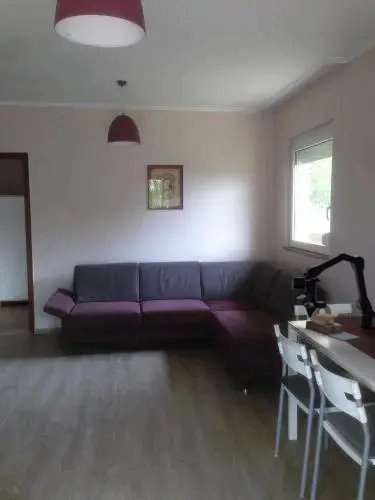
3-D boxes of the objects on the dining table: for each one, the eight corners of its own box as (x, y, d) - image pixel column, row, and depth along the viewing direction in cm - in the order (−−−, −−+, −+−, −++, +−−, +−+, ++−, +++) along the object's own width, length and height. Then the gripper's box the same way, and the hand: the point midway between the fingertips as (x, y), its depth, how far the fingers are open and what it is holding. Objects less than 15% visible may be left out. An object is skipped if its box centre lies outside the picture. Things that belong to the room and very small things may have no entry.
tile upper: (322, 316, 245) (322, 312, 245) (333, 319, 238) (334, 316, 238) (311, 317, 241) (311, 314, 241) (322, 321, 234) (322, 317, 234)
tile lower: (322, 320, 245) (322, 316, 245) (333, 323, 238) (333, 319, 238) (311, 321, 242) (311, 317, 241) (322, 325, 235) (322, 321, 234)
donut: (330, 320, 262) (331, 303, 261) (330, 321, 259) (331, 304, 258) (313, 318, 265) (313, 302, 264) (312, 320, 262) (313, 303, 261)
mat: (342, 332, 236) (342, 331, 236) (359, 338, 226) (359, 337, 226) (325, 335, 230) (325, 334, 230) (342, 340, 220) (342, 339, 220)
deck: (322, 326, 248) (322, 318, 248) (341, 332, 236) (342, 324, 236) (305, 328, 243) (306, 321, 242) (325, 335, 230) (325, 327, 230)
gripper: (288, 288, 251) (286, 315, 253) (312, 293, 235) (311, 323, 236) (303, 286, 257) (302, 313, 258) (327, 292, 240) (326, 321, 242)
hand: (309, 317), depth 248 cm, fingers closed
